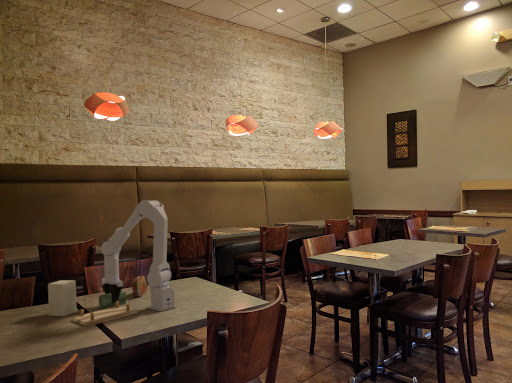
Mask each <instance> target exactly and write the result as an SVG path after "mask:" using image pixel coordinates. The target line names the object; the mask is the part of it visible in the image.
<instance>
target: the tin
mask: <svg viewBox="0 0 512 383" xmlns="http://www.w3.org/2000/svg"><path fill="white" fill-rule="evenodd" d="M131 289H132V295H133V297H134V298H136V297H137V298H139V297H142V296H143V295H144V294H145V293H147V290H148V281H147V276H146V275H139V276H137V277H135V278H134V279H133V280H132V283H131Z"/></svg>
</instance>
